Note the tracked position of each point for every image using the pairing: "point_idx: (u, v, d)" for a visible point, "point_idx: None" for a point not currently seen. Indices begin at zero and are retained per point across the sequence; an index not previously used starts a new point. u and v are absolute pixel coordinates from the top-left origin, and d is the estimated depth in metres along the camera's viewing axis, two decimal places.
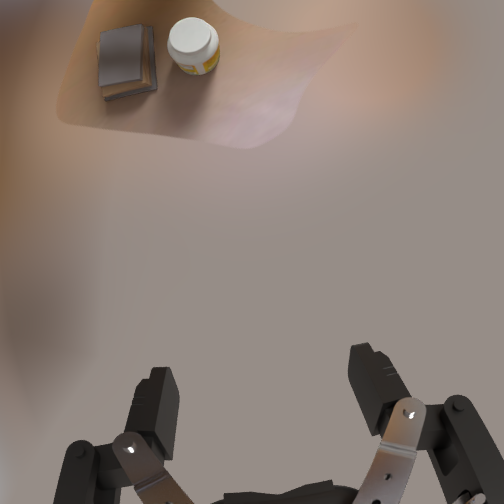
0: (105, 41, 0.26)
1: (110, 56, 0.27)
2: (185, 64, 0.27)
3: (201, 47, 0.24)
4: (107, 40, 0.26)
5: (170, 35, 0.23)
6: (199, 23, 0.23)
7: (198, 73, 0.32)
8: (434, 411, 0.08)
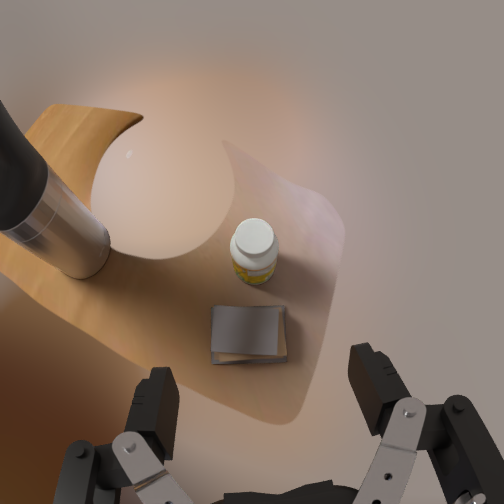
0: (224, 345, 0.33)
1: (245, 340, 0.33)
2: (277, 253, 0.34)
3: (270, 226, 0.32)
4: (224, 343, 0.33)
5: (252, 252, 0.31)
6: (243, 226, 0.32)
7: None
8: (434, 411, 0.08)
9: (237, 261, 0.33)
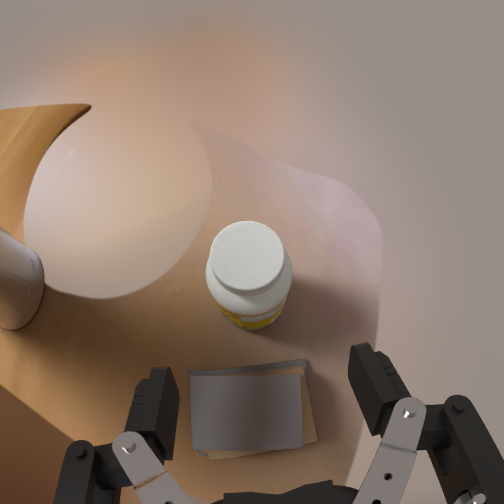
0: (214, 440, 0.17)
1: (247, 430, 0.18)
2: (291, 281, 0.19)
3: None
4: (212, 436, 0.17)
5: (245, 287, 0.16)
6: (225, 238, 0.17)
7: None
8: (434, 411, 0.08)
9: (220, 302, 0.18)
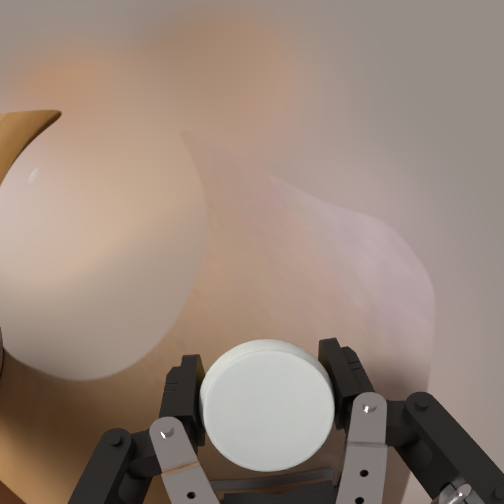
0: None
1: None
2: None
3: (319, 373, 0.09)
4: None
5: (267, 468, 0.08)
6: (230, 385, 0.09)
7: None
8: (397, 407, 0.09)
9: None
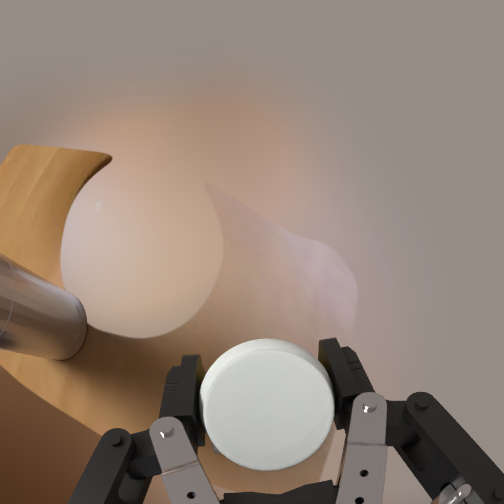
0: None
1: None
2: None
3: (319, 372, 0.09)
4: None
5: (267, 467, 0.08)
6: (230, 384, 0.09)
7: None
8: (397, 407, 0.09)
9: None
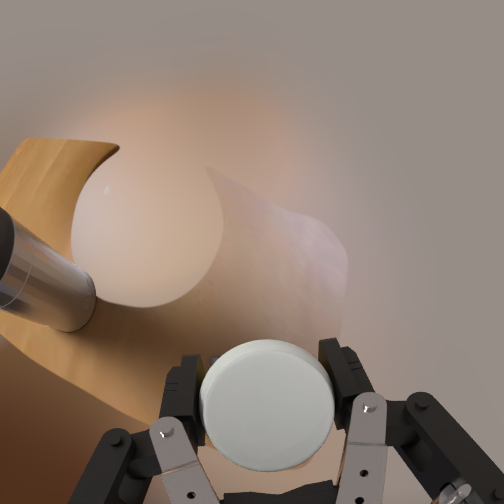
0: None
1: None
2: None
3: (319, 373, 0.09)
4: None
5: (267, 468, 0.08)
6: (230, 385, 0.09)
7: None
8: (397, 407, 0.09)
9: None
